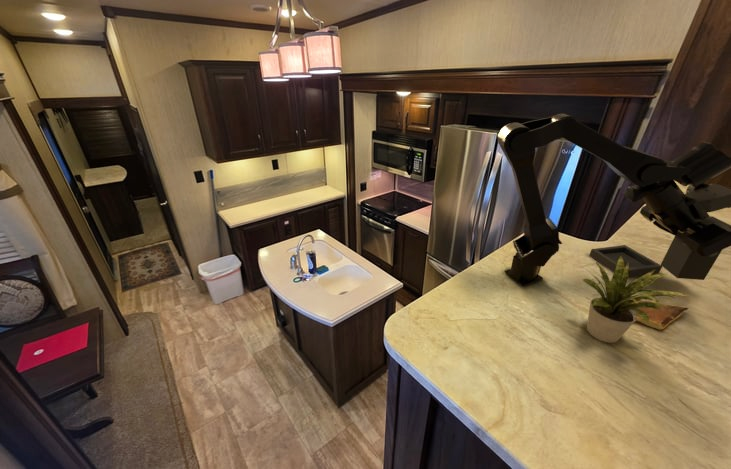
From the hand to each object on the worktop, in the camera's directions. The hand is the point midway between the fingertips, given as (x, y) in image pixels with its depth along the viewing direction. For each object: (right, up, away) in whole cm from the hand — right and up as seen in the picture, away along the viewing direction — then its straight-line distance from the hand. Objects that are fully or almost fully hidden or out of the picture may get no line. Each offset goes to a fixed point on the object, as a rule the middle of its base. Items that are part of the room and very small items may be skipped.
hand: (702, 247), depth 63 cm
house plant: (-27, -18, -6) cm, 33 cm away
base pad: (-5, -5, +14) cm, 16 cm away
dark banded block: (-1, -6, +3) cm, 7 cm away
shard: (-13, -14, -1) cm, 19 cm away
